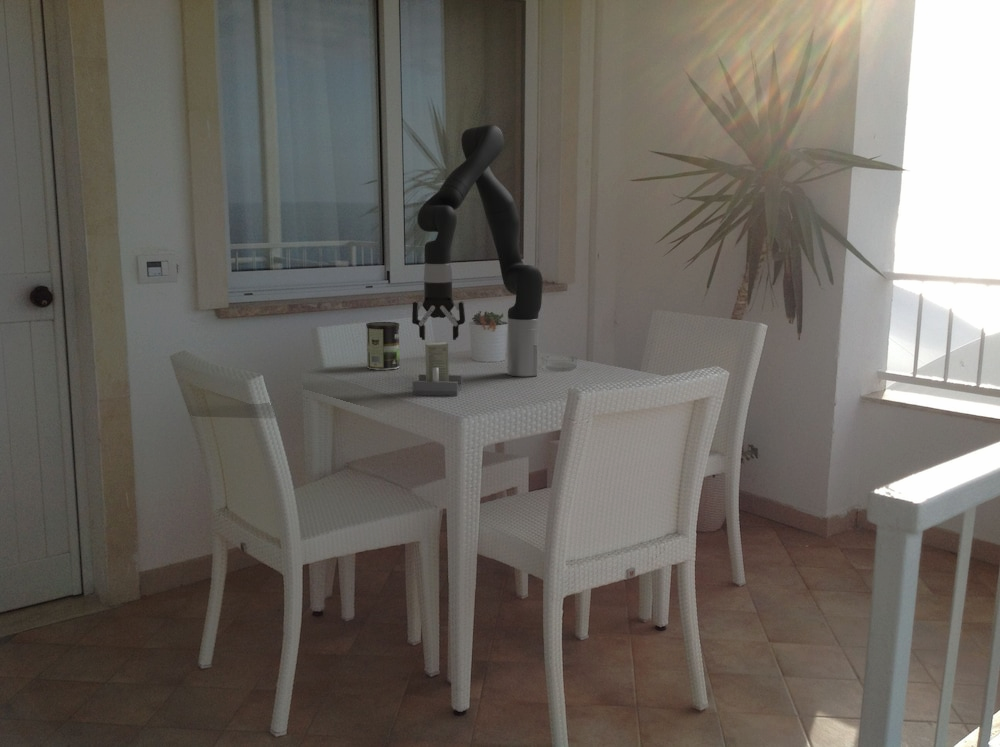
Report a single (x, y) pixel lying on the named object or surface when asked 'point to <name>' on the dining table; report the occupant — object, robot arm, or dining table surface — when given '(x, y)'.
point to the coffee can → (382, 345)
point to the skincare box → (437, 360)
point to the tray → (437, 385)
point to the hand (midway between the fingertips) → (439, 339)
